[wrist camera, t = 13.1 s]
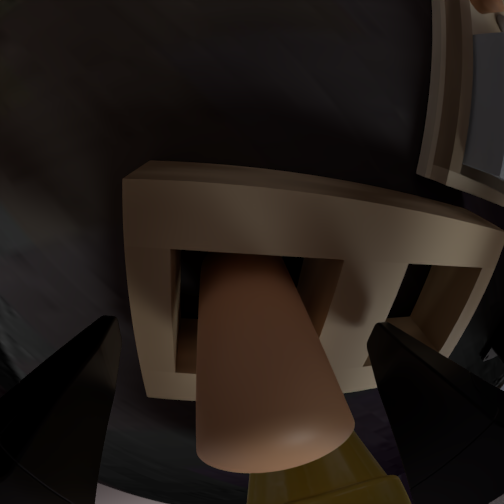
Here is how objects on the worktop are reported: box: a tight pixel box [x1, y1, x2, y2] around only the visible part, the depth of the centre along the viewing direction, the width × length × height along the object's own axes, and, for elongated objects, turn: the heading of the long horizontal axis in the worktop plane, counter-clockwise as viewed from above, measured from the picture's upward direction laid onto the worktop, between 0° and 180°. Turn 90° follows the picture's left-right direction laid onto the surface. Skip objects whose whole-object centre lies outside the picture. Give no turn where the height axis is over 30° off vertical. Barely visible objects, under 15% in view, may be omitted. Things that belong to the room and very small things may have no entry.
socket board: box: [122, 160, 504, 401], centre depth 10 cm, size 14×8×3 cm, turn 82°
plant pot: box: [247, 430, 411, 504], centre depth 13 cm, size 10×10×10 cm
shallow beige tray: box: [416, 0, 504, 207], centre depth 7 cm, size 8×14×2 cm, turn 172°
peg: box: [196, 251, 355, 473], centre depth 8 cm, size 3×3×7 cm
